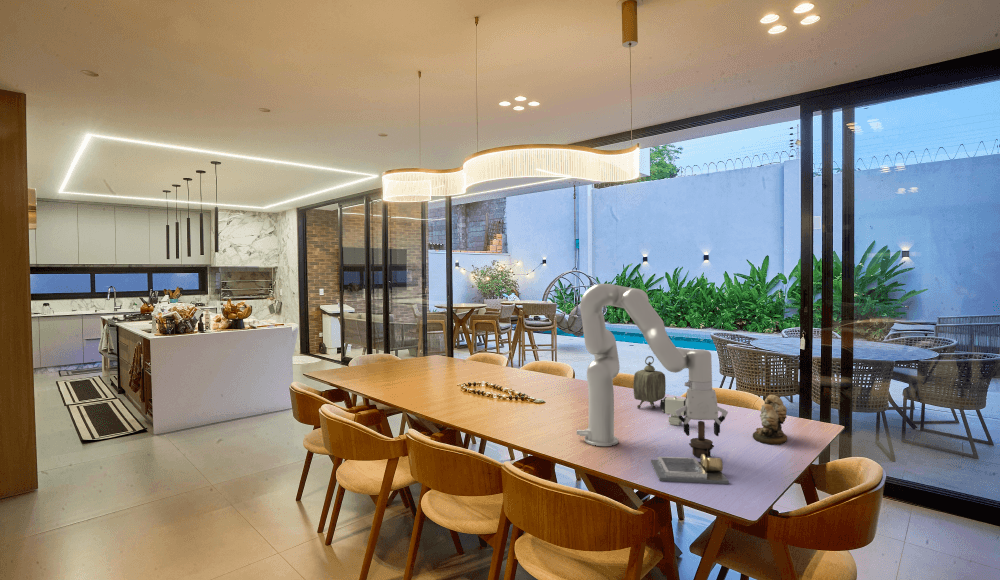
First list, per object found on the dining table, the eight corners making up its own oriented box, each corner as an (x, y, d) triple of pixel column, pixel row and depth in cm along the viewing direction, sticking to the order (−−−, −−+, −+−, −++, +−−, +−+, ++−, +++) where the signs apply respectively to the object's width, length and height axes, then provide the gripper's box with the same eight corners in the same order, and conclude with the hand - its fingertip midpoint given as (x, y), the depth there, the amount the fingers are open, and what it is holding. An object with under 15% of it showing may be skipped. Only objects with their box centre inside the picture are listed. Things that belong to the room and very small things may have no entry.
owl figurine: (754, 430, 206) (754, 388, 206) (787, 435, 200) (788, 392, 200) (751, 442, 190) (751, 397, 190) (787, 447, 184) (787, 400, 184)
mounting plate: (659, 481, 153) (659, 461, 153) (651, 462, 169) (650, 444, 169) (728, 484, 150) (728, 464, 150) (713, 465, 166) (713, 447, 166)
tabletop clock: (650, 403, 252) (650, 353, 252) (666, 407, 245) (666, 355, 245) (633, 408, 242) (633, 356, 242) (649, 412, 236) (649, 358, 235)
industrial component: (715, 455, 176) (715, 421, 176) (710, 461, 170) (710, 425, 170) (688, 450, 181) (688, 417, 181) (682, 455, 176) (682, 421, 175)
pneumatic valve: (688, 427, 210) (688, 398, 210) (660, 423, 216) (660, 395, 215) (690, 424, 215) (690, 396, 215) (662, 420, 220) (662, 393, 220)
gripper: (677, 387, 173) (678, 437, 173) (730, 387, 170) (731, 438, 170) (672, 383, 180) (673, 431, 180) (723, 383, 178) (724, 432, 178)
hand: (701, 434), depth 175 cm, fingers open, 9 cm apart
